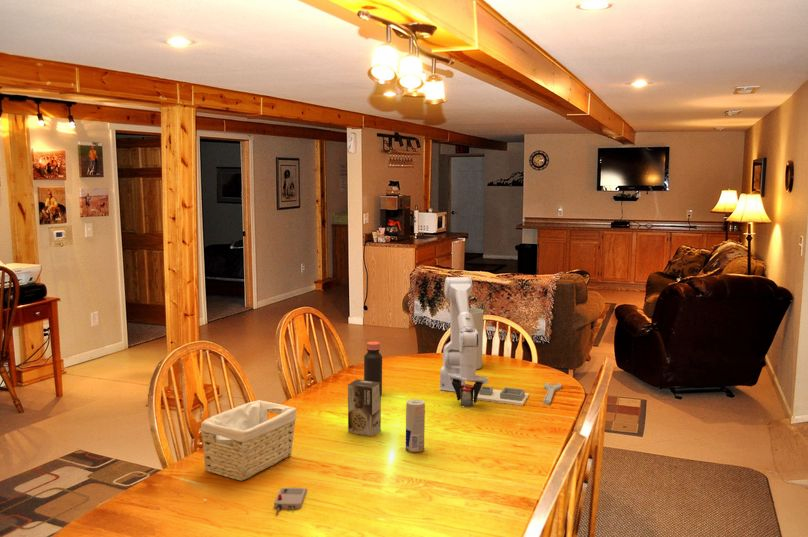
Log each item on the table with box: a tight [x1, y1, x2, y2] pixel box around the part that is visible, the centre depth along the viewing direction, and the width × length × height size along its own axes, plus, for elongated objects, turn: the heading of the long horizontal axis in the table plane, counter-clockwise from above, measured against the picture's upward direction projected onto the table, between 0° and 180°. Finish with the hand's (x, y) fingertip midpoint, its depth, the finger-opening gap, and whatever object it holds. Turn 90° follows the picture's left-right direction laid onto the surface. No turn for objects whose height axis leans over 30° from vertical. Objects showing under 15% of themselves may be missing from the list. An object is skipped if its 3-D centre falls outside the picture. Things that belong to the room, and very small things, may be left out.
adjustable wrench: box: [542, 382, 562, 406], centre depth 263 cm, size 25×6×2 cm, turn 157°
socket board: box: [473, 385, 530, 407], centre depth 258 cm, size 20×12×3 cm, turn 70°
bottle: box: [363, 341, 383, 396], centre depth 258 cm, size 7×7×20 cm
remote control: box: [273, 487, 308, 515], centre depth 173 cm, size 7×16×3 cm, turn 179°
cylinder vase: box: [452, 307, 484, 371], centre depth 298 cm, size 12×12×25 cm
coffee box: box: [347, 378, 382, 437], centre depth 221 cm, size 9×6×16 cm
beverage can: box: [405, 398, 426, 453], centre depth 206 cm, size 6×6×15 cm
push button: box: [460, 383, 474, 408], centre depth 249 cm, size 5×5×7 cm
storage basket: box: [200, 399, 297, 481], centre depth 195 cm, size 24×16×15 cm
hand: (467, 400), depth 249 cm, fingers open, 5 cm apart
